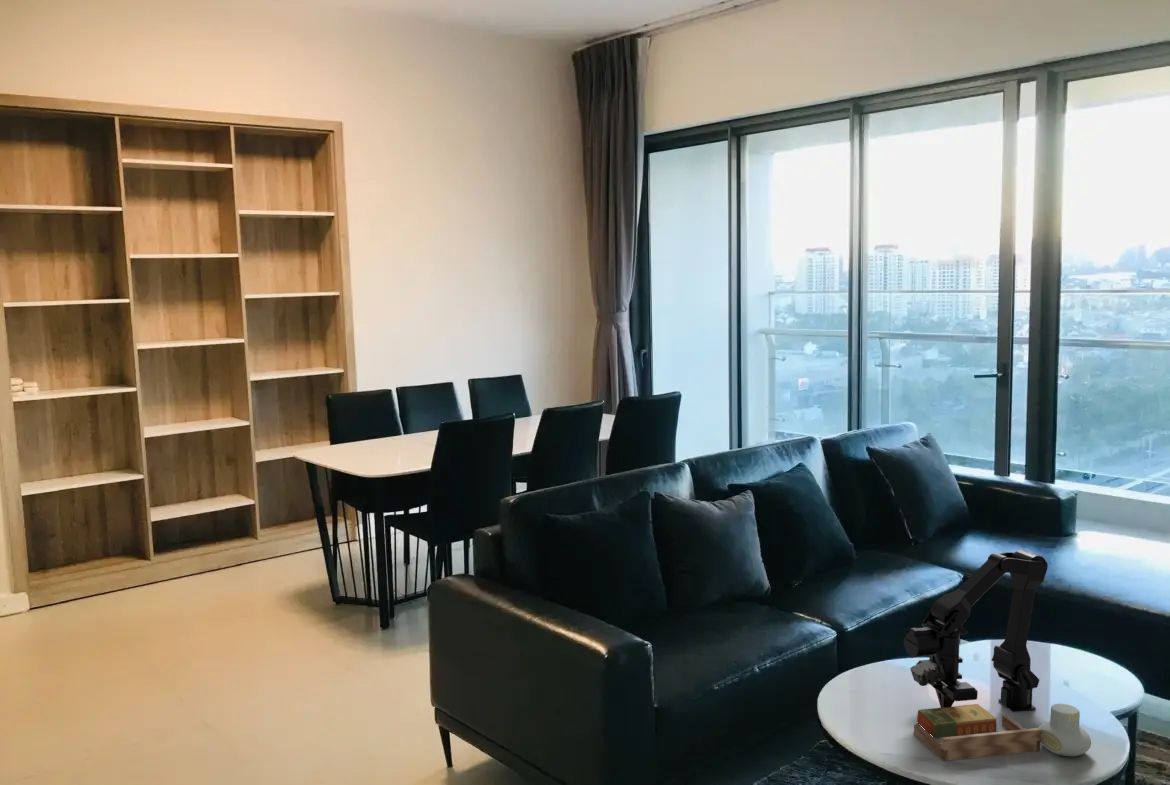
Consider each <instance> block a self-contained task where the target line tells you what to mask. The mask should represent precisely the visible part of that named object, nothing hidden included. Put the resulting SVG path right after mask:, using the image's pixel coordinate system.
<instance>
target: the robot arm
mask: <svg viewBox="0 0 1170 785" xmlns="http://www.w3.org/2000/svg"><path fill="white" fill-rule="evenodd" d="M1047 571H1048V561H1047V560H1046V559H1045V558H1044V557H1043V556H1041V555H1039V554H1035V553H1033V552H1030V551H1027V550H1025V549H1018V550H1016V551H1014V552H1013V551H1009V552H1008V551H1004V552H1001V553H999V552H998V553H997V552H994V553H991V554H989V556H988V557H987V560H986V561H985V562H984V563H983V564H982V565H981V566H979V568H977V570H976V571H975V572H974V573H973V574H971V575H970V576H969V577H968V579H966V580H965V581H964V582H963V583H962V584H961V585H960V586H959V587H958V588H957V589H955V590H954V591H951V592H948V593H944V594H943V595H942V596H941V597H939V598H937V599H936V600H935V601H934V602H933V603H932V604H931V608H930V610H929V611H928V613H927V614H926V616H925V617H924V619H923V620H922V622H921V626H923V627H911V628H909V632H908V633H906V635H905V637H904V638H903V646H904V649H905V652H906V653H907V655H908V657H909V656H910V658H919V657H926V656H929V658H928V659H921V660H920V659H919V661H918V662H916V663H915V665H912V666H911V667H910V673H911V675H912V677H913V681H914V682H916V683H917V684H918V685H919V686H921V687H924V686H928V685H930V686H931V687H932V688H933V689H934V690H935V694H936V696H937V699H938V702H939V706H940V707H939V708H943V707H953V706H954V703H956V702H963V701H964V702H966V701H976V700H977V699H978V694H979V693H978V690H977V689H976V688H975V687H974V686H973V685H971V684H970V683H968V681H964V682H963V681H960V680H962V679H963V674H961V673H960V672H959V668H960V667H959V666H960V664H962V663H963V660H964V659H963V658H962V657H961V656H960V643H961V642H960V641H961V640H960V639H961V638H960V637H961V636H962V635H963V636H965V635H968V634H969V632H968V630H966V629H965V628H964V626H963V624H964V623H965V622H966V621H967V619H968V618H969V617H970V615H971V611H972V607H973V606H974V605H975V603H976V602H977V601H979V599H981V597H982V596H983V595H984V594H985V593H986V592H987V591H988V590H990V589H991V588H992V587H993V586H994V585H995V584H997V582H998V581H999V580H1000V579H1001V578H1002V577H1003V576H1004V575H1005V574H1006V573H1008V574H1009V573H1010V577H1011V580H1012V583H1013V589H1012V595H1011V600H1010V607H1009V614H1008V620H1007V625H1006V632H1005V637H1004V641H1003V642H1002V643H1001V644H1000V645H995V646H994V647H993V655H992V658H991V661H992V662H993V668H994V669H995V671H996V672H997V675H998V677H999V678H1001V679H1003V680H1002V686H1001V688H1000V698H998V699H997V700H998V703H1000V704H1001V705H1002V706H1004V707H1005V708H1007V709H1009V710H1010V711H1011V712H1014V713H1015V712H1025V711H1026V712H1027V711H1035V710H1036V709H1037V707H1036V706H1035V705H1033V689H1037V688H1038V686H1039V683H1040V678H1039V677H1038V676H1037V675H1035V673H1034V672H1033V671H1032V670H1031V661H1032V660H1031V656H1030V653H1029V650H1028V647H1027V642H1028V637H1029V630H1030V625H1031V620H1032V619H1031V618H1032V614H1033V613H1032V612H1033V608H1034V600H1035V594H1036V591H1037V589H1039V587H1040V586H1041V585H1042V583H1043V582H1044V581H1045V578H1046V574H1047ZM936 622H938V623H939V624H938V623H936ZM940 624H942V625H943V626H942V625H940Z"/></svg>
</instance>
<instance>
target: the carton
mask: <svg viewBox="0 0 1170 785" xmlns="http://www.w3.org/2000/svg"><path fill="white" fill-rule="evenodd" d="M917 722H918V723H917ZM916 723H917V724H920V725H921V726H922V727H923V728H924V729H925V730H926V731H927V732H928V733H929V734H931V735H932V736H933V737H934V738H935V739H942V738H943V737H953V736H962V735H972V734H982V733H992V732H998V730H997V729H998V728H997V727H998V726H997V725H998V724H997V717H995V716H994V715H993V714H992V713H990V712H989V711H988V710H986V709H985V708H984V707H983V706H981V705H980V704H979V703H975V704H963V705H955V706H954V705H952V706H951V707H943V708H941V707H935V708H934V707H932V708H923V709H918V710H917V717H916ZM940 737H941V738H940Z"/></svg>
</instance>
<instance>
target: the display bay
mask: <svg viewBox="0 0 1170 785" xmlns="http://www.w3.org/2000/svg"><path fill="white" fill-rule="evenodd" d="M1001 726H1002V727H1004V728H1005V729H1006V730H1004V731H1003V730H1002V731H996V732H992V733H982V734H972V735H962V736H952V737H943V738H940V739H941V743H940V741H938V740H937V738H934V737H932V736H931V735H930V734H929V733H928V732H927V731H926V730H924V729H923V728H922V727H921V726H920V725H919V724H918V723H915V724H913V735H914V736H915V735H916V736H915V737H916V738H917V737H918V738H919V739H918V740H919V741H920V742H922V743H923V744H924V745H925V746H926V747H928V749H929V750H931V751H932V752H933V753H934V754H935V755H936V756H937V757H938V758H939V759H941V761H943V762H947V761H956V760H964V759H965V760H966V759H973V758H974V759H975V758H983V757H985V758H986V757H993V756H995V757H996V756H1004V755H1010V754H1011V755H1013V754H1020V753H1021V754H1022V753H1030V752H1040V751H1041V729H1039V727H1034V728H1025V727H1023V726H1022V725H1020V724H1019V723H1018V722H1016V721H1015V720H1014V719H1012V718H1010V717H1009V716H1008V715H1006V714H1005V715H1002V718H1001Z"/></svg>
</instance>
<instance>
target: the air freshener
mask: <svg viewBox="0 0 1170 785" xmlns="http://www.w3.org/2000/svg"><path fill="white" fill-rule="evenodd" d="M1080 714H1081V712H1080V710H1079V708H1077V707H1076V706H1073V705H1071V704H1067V703H1054V704H1052V705H1051V706H1050V716H1049V717H1050V719H1049V720H1048V721H1046V722H1045V723H1042V724H1041V725H1040V726H1039V727H1038V728H1039V729H1041V743H1040V745H1042V746H1043V747H1044V748H1046V749H1047V751H1050V753H1052V754H1055V755H1058V756H1063V757H1077V756H1081V755H1084V754H1086V753H1087V752H1089V750H1090V749H1091V746H1092V739H1091V736H1090V735H1089V733H1088V732H1087V731H1086V730H1085V729H1084V728H1082V727H1081V726H1080V719H1081V718H1080Z"/></svg>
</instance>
